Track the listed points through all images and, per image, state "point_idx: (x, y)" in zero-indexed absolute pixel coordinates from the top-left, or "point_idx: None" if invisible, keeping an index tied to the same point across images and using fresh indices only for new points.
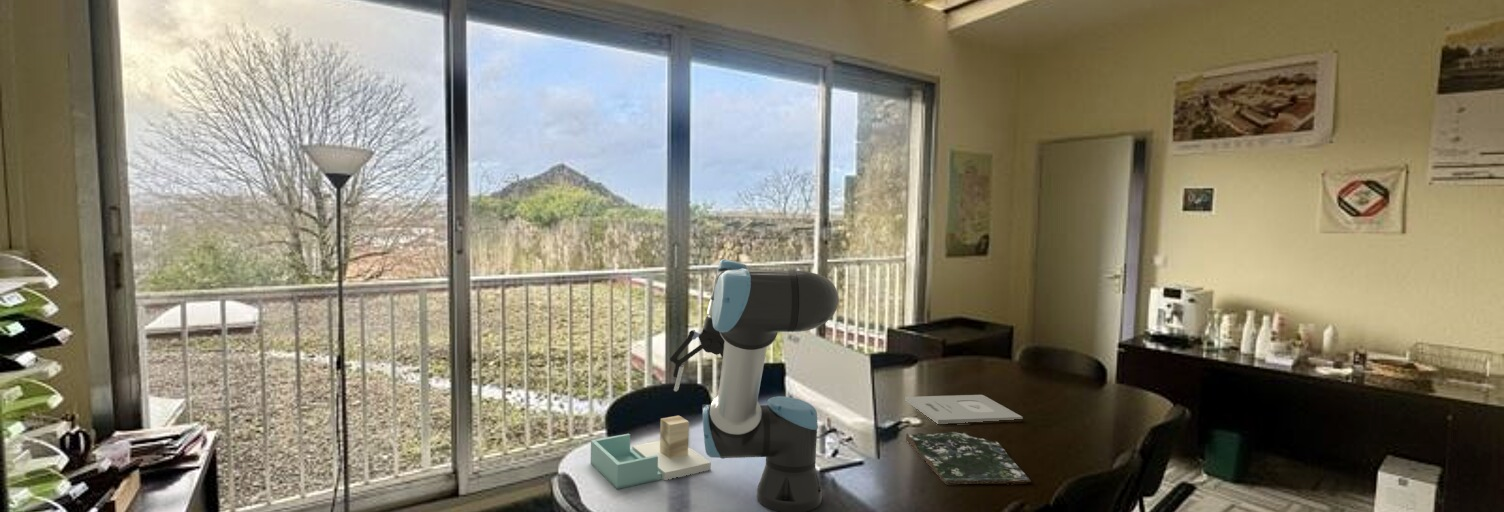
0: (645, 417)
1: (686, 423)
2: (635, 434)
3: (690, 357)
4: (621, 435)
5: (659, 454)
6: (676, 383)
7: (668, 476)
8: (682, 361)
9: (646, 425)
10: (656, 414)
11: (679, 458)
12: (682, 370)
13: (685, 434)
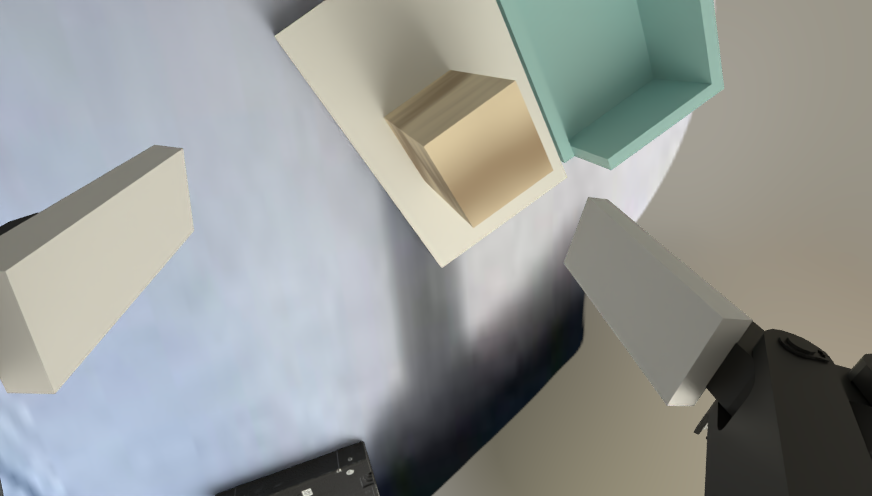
0: (520, 409)
1: (432, 136)
2: (543, 302)
3: (786, 457)
4: (634, 148)
5: None
6: (630, 224)
7: None
8: (791, 379)
9: (517, 364)
10: (495, 433)
11: (412, 76)
12: (657, 341)
13: (418, 124)
